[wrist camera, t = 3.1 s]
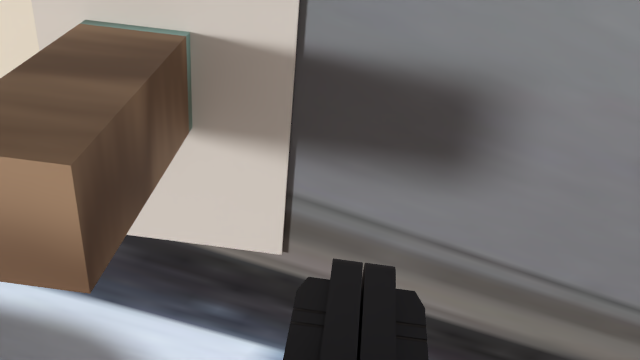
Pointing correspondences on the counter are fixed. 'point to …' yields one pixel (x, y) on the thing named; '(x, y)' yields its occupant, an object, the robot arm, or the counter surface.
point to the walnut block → (86, 147)
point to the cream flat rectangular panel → (201, 109)
